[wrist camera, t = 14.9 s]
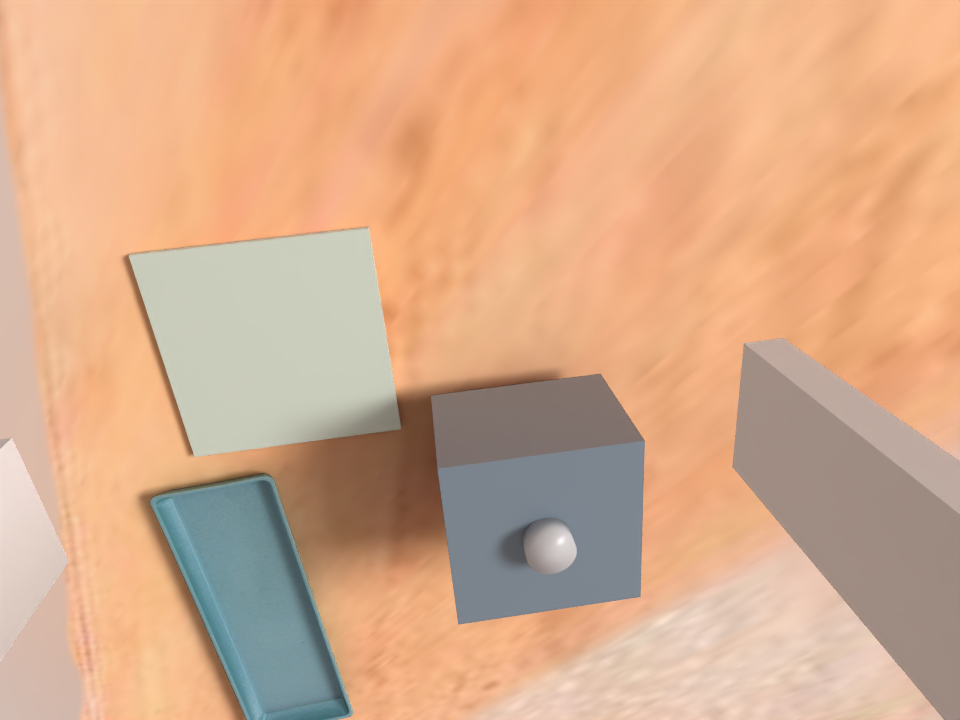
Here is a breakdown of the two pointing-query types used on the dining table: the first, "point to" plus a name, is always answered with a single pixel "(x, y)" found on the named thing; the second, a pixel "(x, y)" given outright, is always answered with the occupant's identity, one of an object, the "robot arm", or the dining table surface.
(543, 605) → the cover
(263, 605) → the shallow long dish
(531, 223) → the dining table surface
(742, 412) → the robot arm
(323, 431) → the mat
